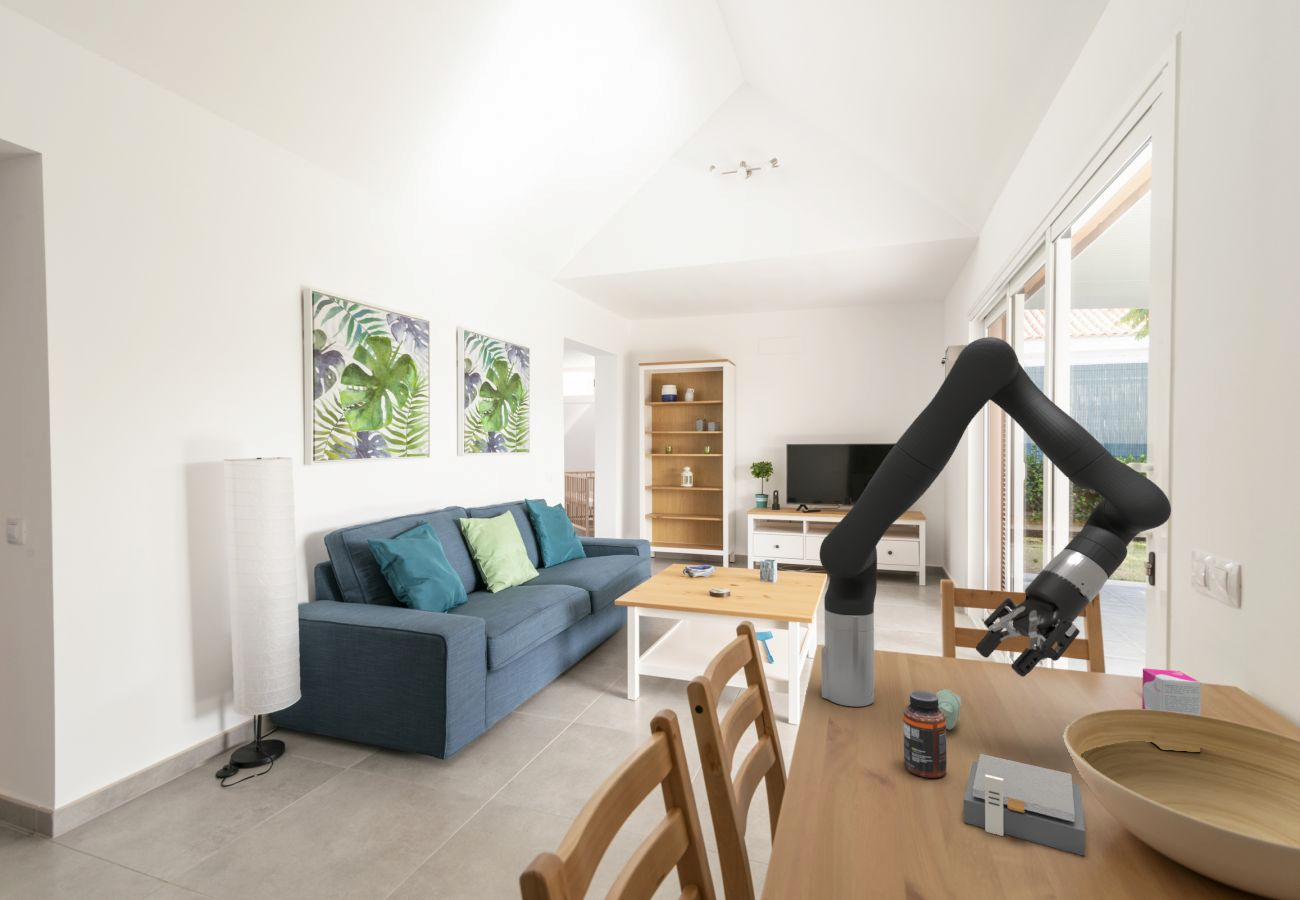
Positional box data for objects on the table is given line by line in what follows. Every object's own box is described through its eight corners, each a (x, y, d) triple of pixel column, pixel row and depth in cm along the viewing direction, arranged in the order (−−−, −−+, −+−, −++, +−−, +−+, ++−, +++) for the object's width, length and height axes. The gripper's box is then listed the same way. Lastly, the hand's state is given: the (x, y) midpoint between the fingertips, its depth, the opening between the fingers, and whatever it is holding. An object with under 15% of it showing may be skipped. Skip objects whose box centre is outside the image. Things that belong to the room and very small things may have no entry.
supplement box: (1202, 754, 100) (1202, 682, 100) (1160, 750, 102) (1160, 679, 102) (1180, 737, 106) (1179, 669, 106) (1140, 734, 107) (1139, 667, 107)
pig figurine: (952, 740, 105) (952, 700, 105) (927, 733, 108) (926, 694, 108) (965, 724, 111) (965, 686, 111) (941, 718, 114) (941, 680, 114)
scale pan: (971, 801, 81) (971, 794, 81) (980, 760, 91) (980, 753, 91) (1075, 828, 75) (1075, 820, 75) (1071, 781, 86) (1071, 774, 86)
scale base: (963, 825, 82) (963, 771, 82) (972, 781, 92) (972, 733, 92) (1085, 859, 75) (1085, 800, 75) (1080, 807, 86) (1079, 755, 86)
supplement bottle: (944, 763, 98) (943, 690, 98) (948, 782, 92) (948, 705, 92) (902, 757, 100) (902, 685, 100) (904, 776, 94) (904, 700, 94)
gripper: (1018, 561, 105) (954, 632, 104) (1086, 578, 91) (1012, 661, 90) (1048, 592, 106) (984, 663, 104) (1120, 613, 92) (1047, 696, 90)
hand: (997, 662), depth 97 cm, fingers open, 8 cm apart
